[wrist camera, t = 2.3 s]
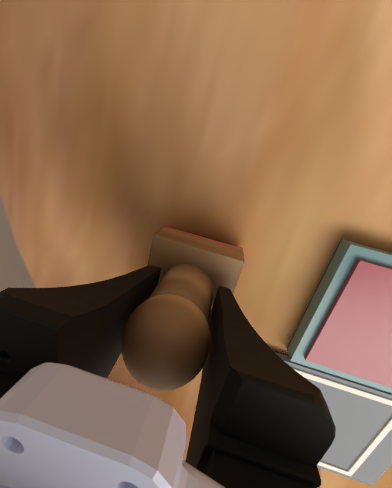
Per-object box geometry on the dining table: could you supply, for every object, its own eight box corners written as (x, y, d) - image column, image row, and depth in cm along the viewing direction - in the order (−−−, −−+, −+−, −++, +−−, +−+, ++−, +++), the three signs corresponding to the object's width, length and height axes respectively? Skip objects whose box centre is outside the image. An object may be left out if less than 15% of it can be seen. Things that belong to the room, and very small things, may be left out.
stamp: (220, 313, 15) (207, 450, 8) (151, 292, 15) (76, 402, 8) (242, 248, 13) (254, 340, 6) (165, 226, 14) (84, 287, 6)
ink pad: (411, 388, 15) (426, 408, 14) (286, 349, 15) (291, 364, 14) (498, 281, 12) (528, 293, 11) (342, 238, 13) (353, 246, 11)
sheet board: (367, 476, 18) (372, 487, 17) (203, 418, 19) (201, 426, 18) (433, 402, 15) (442, 412, 14) (233, 338, 16) (233, 345, 15)
